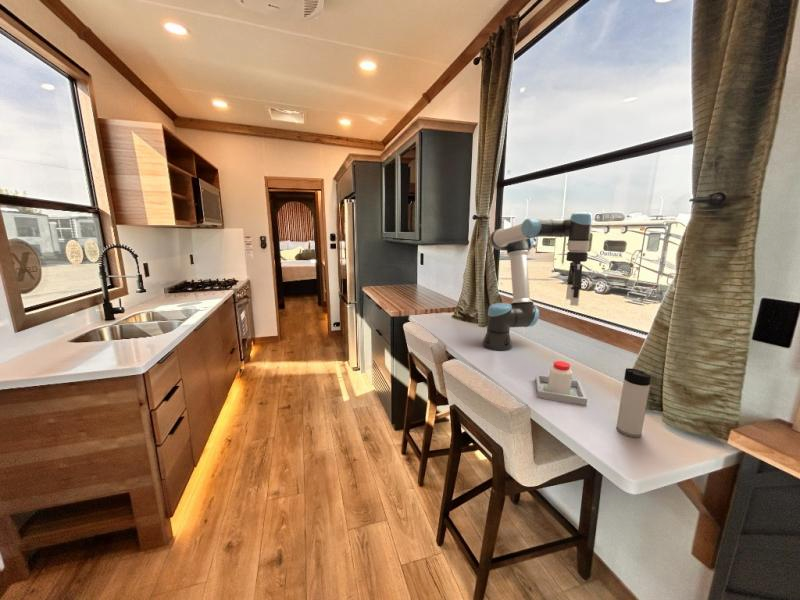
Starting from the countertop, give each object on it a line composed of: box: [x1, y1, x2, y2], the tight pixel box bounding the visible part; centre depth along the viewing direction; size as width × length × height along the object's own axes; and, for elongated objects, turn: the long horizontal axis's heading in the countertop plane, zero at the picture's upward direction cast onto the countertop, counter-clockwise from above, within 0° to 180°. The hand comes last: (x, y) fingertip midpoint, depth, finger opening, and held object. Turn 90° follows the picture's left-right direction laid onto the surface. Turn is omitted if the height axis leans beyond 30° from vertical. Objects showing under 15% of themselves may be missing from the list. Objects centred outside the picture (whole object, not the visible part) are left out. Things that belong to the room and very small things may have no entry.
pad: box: [542, 384, 576, 396], centre depth 122 cm, size 11×11×1 cm
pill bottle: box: [547, 360, 573, 395], centre depth 121 cm, size 8×8×11 cm
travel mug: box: [616, 367, 652, 438], centre depth 95 cm, size 6×7×20 cm
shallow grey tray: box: [535, 374, 588, 406], centre depth 122 cm, size 16×16×2 cm
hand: (571, 302), depth 134 cm, fingers open, 13 cm apart
